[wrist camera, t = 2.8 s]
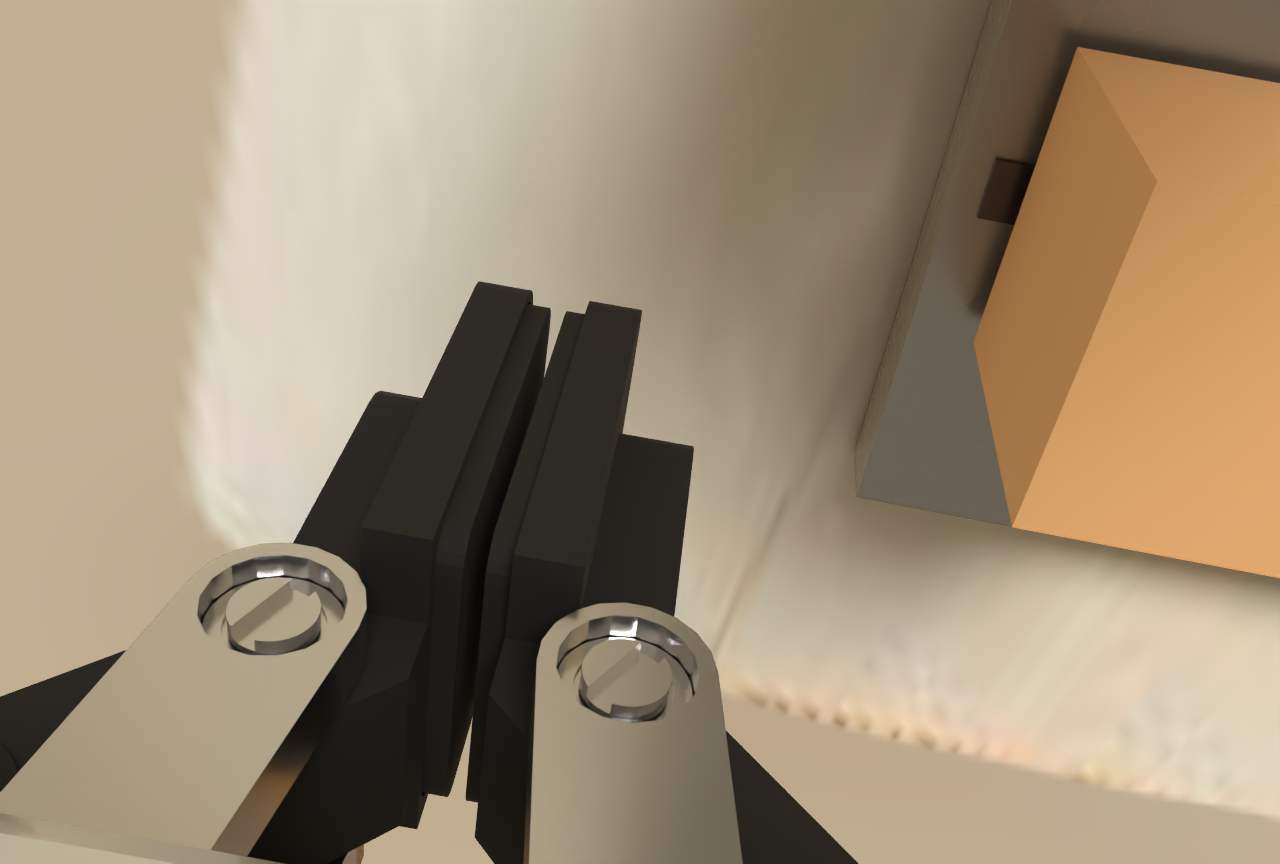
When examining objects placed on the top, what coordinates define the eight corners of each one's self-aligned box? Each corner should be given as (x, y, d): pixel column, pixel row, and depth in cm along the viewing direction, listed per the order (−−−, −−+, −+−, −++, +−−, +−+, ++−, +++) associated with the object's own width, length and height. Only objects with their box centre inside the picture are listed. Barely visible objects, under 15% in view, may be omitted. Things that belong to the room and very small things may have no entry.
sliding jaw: (1353, 96, 17) (1520, 247, 13) (1151, 501, 21) (1229, 710, 17) (1077, 46, 17) (1157, 181, 13) (932, 459, 21) (957, 657, 17)
